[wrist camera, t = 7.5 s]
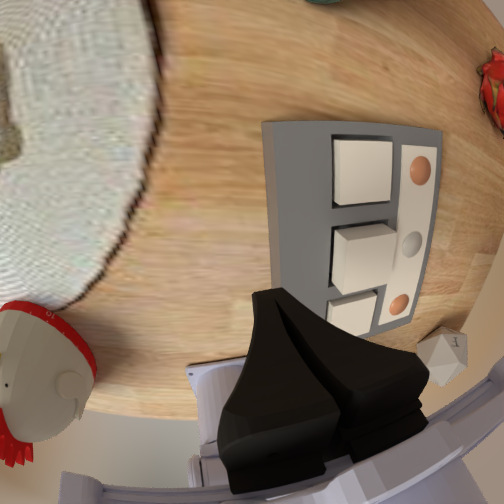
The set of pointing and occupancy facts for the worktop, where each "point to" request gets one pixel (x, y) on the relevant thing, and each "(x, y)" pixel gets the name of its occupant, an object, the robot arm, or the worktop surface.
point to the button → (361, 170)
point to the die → (443, 354)
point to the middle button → (363, 257)
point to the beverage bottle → (324, 1)
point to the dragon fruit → (493, 88)
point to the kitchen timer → (39, 378)
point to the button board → (348, 212)
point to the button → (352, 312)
